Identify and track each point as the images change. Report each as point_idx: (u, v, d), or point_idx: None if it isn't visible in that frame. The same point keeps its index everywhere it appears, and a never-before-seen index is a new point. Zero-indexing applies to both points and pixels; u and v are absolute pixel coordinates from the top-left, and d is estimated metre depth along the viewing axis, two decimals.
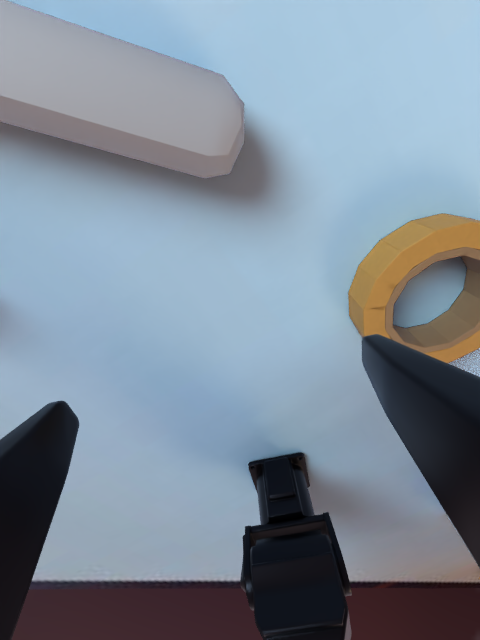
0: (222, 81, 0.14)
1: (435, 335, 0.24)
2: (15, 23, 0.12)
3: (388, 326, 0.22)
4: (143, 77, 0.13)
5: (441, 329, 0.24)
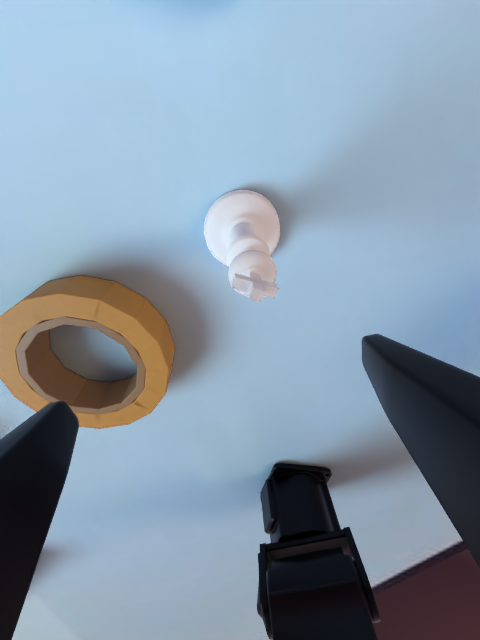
0: None
1: None
2: None
3: (96, 412, 0.22)
4: None
5: None
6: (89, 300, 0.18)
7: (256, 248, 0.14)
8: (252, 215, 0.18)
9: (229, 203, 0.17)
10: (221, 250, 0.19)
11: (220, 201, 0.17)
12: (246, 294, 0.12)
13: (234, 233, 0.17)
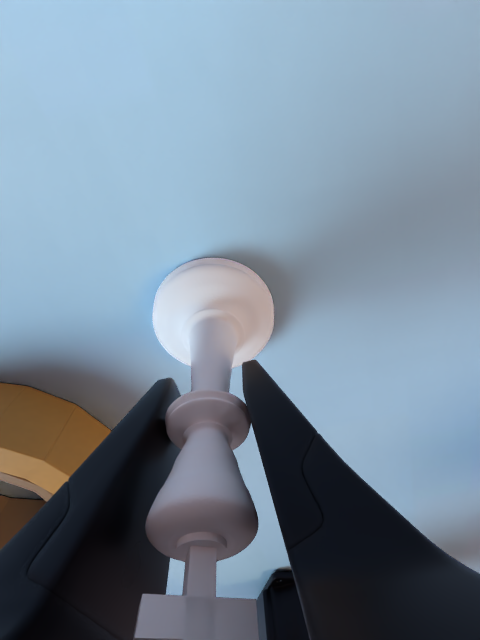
0: None
1: None
2: None
3: None
4: None
5: None
6: None
7: (221, 417, 0.07)
8: (227, 301, 0.11)
9: (188, 283, 0.10)
10: (180, 350, 0.12)
11: (173, 280, 0.11)
12: None
13: (193, 342, 0.10)
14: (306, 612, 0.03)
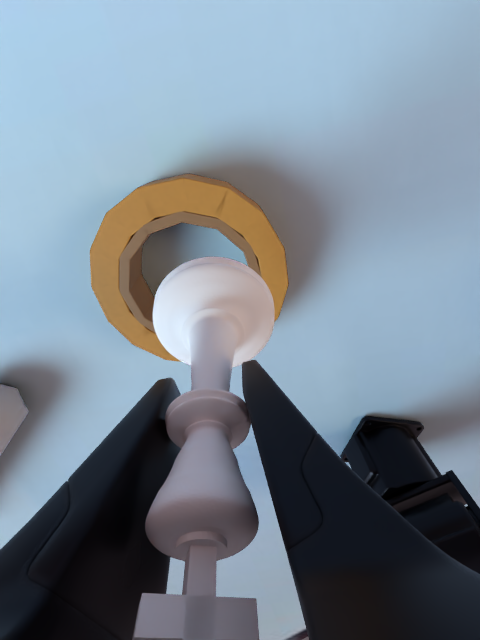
0: None
1: None
2: None
3: None
4: None
5: None
6: (215, 188, 0.15)
7: (222, 416, 0.07)
8: (227, 301, 0.11)
9: (188, 282, 0.10)
10: (180, 349, 0.12)
11: (173, 279, 0.10)
12: None
13: (194, 342, 0.10)
14: (306, 612, 0.03)
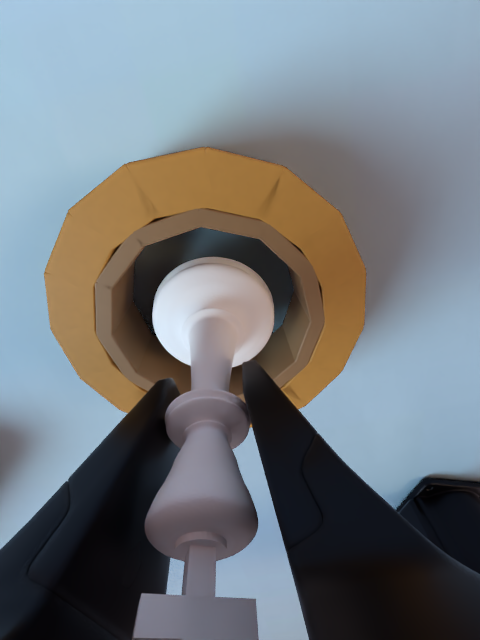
0: None
1: (299, 316, 0.12)
2: None
3: None
4: None
5: (299, 296, 0.12)
6: (262, 167, 0.08)
7: (221, 417, 0.07)
8: (227, 301, 0.11)
9: (188, 282, 0.10)
10: (180, 349, 0.12)
11: (173, 279, 0.10)
12: None
13: (193, 342, 0.10)
14: (306, 612, 0.03)
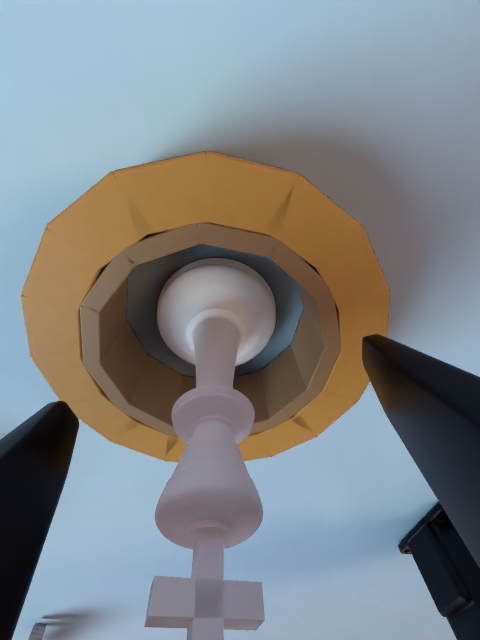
0: None
1: (311, 339, 0.11)
2: None
3: None
4: None
5: (310, 317, 0.11)
6: (274, 175, 0.07)
7: (226, 412, 0.07)
8: (230, 301, 0.11)
9: (192, 283, 0.11)
10: (184, 348, 0.12)
11: (178, 279, 0.11)
12: None
13: (197, 341, 0.10)
14: None
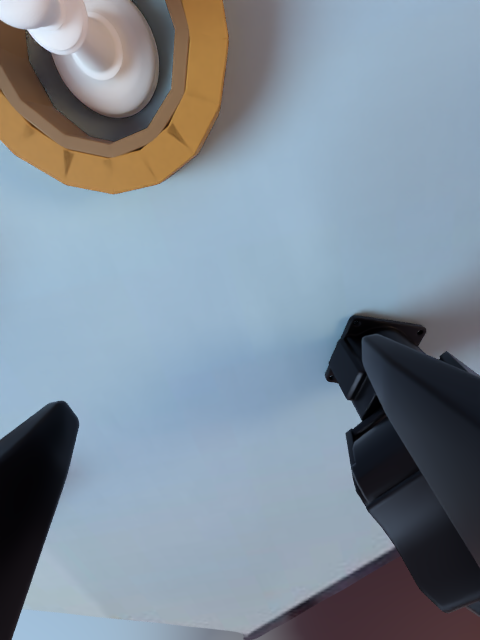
0: None
1: None
2: None
3: (106, 151, 0.14)
4: None
5: None
6: None
7: None
8: (105, 14, 0.13)
9: None
10: (77, 79, 0.14)
11: None
12: (9, 18, 0.08)
13: None
14: None
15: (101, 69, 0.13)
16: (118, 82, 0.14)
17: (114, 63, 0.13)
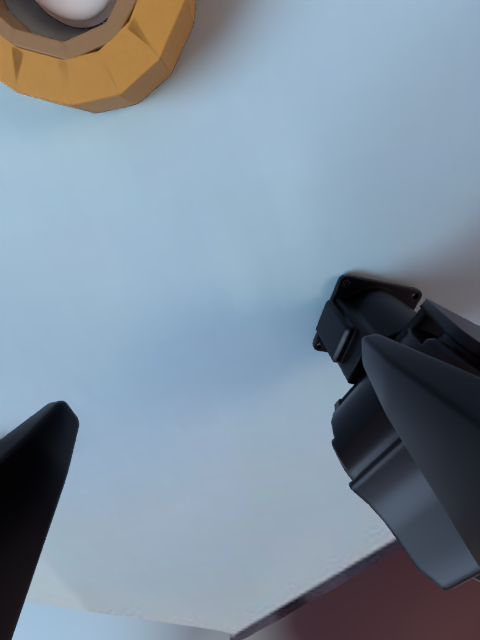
0: None
1: None
2: None
3: (59, 51, 0.12)
4: None
5: None
6: None
7: None
8: None
9: None
10: None
11: None
12: None
13: None
14: None
15: None
16: None
17: None
